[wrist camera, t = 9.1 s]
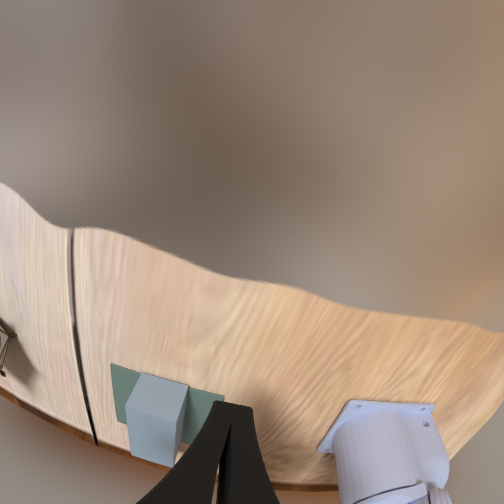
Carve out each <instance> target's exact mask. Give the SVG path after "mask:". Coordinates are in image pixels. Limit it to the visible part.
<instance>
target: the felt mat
mask: <svg viewBox="0 0 504 504" xmlns="http://www.w3.org/2000/svg"><path fill="white" fill-rule="evenodd" d="M110 366H111V376H112V386H113V394H114V401H115V409H116V415H117V421H118V422H121V423H124V424H127V419H126V411H125V405H126V403H127V401H128V399H129V397H130V395H131V393H132V391H133V389H134V387H135V385H136V383H137V381H138V379H139V377H140V375H141V373H138V372H135V371H132V370H129V369H126V368H123V367H121V366H118V365H115V364H112V363H111V364H110ZM223 399H224V396H222V395H218V394H214V393H209V392H205V391H201V390H197V389H193V388H190V387H188V393H187V401H186V409H185V417H184V425H183V434H182V439H181V442H185V443H189V444H192V442H193V440H194V439H195V437H196V436H197V434H198V433H199V431H200V430H201V428H202V426H203V424H204V422H205V420H206V419H207V416H208V414H209V412H210V410H211V407H212V404H213V401H216V400H219V401H223Z"/></svg>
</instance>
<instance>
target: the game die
mask: <svg viewBox="0 0 504 504" xmlns="http://www.w3.org/2000/svg"><path fill="white" fill-rule="evenodd" d="M16 335H17V334H15V333H11V334H8V333H7V332H6V331H5V330H4V329H3V327H2V326H1V325H0V373H1V375H2V376H4V377H6V375H5V373H4V371H2V367H3V363H4V358H5V354H6V350H7V346H8V342H9V339H10V338H14V337H15V336H16Z"/></svg>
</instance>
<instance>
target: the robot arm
mask: <svg viewBox="0 0 504 504" xmlns="http://www.w3.org/2000/svg"><path fill="white" fill-rule="evenodd" d="M434 409H435V405H434V404H432V403H396V402H379V401H366V400H350V401H348V402H347V403H346V405H345V407H344V408H343V410H342V411H341V413H340V415H339V416H338V418H337V419H336V421H335V422H334V424H333V425H332V427H331V428H330V430H329V431H328V433H327V434H326V436H325V437H324V439H323V440H322V441H321V443H320V444H319V446H318V447H317V450H318V451H319V452H325V453H335V461H336V470H337V479H338V489H339V499H340V504H452V502H451V499H450V497H449V495H448V493H447V491H446V490H445V489H443V487H444V486H445V484H446V482H447V479H448V475H449V458H448V455H447V452H446V449H445V447H444V444H443V442H442V439H441V437H440V434H439V432H438V429H437V427H436V424H435V422H434V419H433V417H432V415H431V413H432V412H433V410H434ZM219 462H220V463H219ZM218 466H219V475H218V488H217V500H216V504H280V503H279V500H278V498H277V496H276V494H275V492H274V490H273V487H272V485H271V482H270V480H269V477H268V474H267V472H266V469H265V466H264V463H263V459H262V456H261V452H260V449H259V445H258V441H257V436H256V431H255V425H254V418H253V409H252V408H251V407H247V406H242V405H237V404H233V403H228V402H223V401H219V400H216V401H213V404H212V407H211V410H210V412H209V414H208V416H207V419H206V420H205V422H204V424H203V426H202V428H201V430H200V431H199V433H198V434H197V436H196V437H195V439H194V440H193V442H192V444H191V445H190V446H189V448H188V449H187V450H186V452H185V453H184V454H183V456H182V457H181V458H180V460H179V461H178V462H177V463H176V465H175V466H174V467H173V468H172V469H171V470H170V471H169V473H168V474H167V475H166V476H165V477H164V478H163V479H162V480H161V481H160V482H159V483H158V484H157V485H156V486H155V487H154V488H153V489H152V490H151V491H150V492H149V493H148V494H146V495H145V496H144V497H143V498H142V499H141V500H140V501H138V502H137V503H136V504H211V502H212V496H213V490H214V483H215V478H216V473H217V469H218Z"/></svg>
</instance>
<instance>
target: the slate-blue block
mask: <svg viewBox="0 0 504 504" xmlns="http://www.w3.org/2000/svg"><path fill="white" fill-rule="evenodd" d="M187 393H188V385H184V384H180V383H177V382H173V381H170V380H166V379H163V378H159V377H156V376H153V375H150V374H146V373H143V372H142V373H141V375H140V377H139V379H138V381H137V383H136V385H135V387H134V389H133V391H132V393H131V395H130V397H129V399H128V401H127V403H126V405H125V411H126V419H127V428H128V435H129V442H130V449H131V455H134V456H136V457H139V458H142V459H145V460H149V461H152V462H155V463H158V464H162V465H165V466H169V467H172V468H173V466H174V462H175V459H176V456H177V452H178V449H179V445H180V442H181V439H182V434H183V425H184V417H185V409H186V401H187Z"/></svg>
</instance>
